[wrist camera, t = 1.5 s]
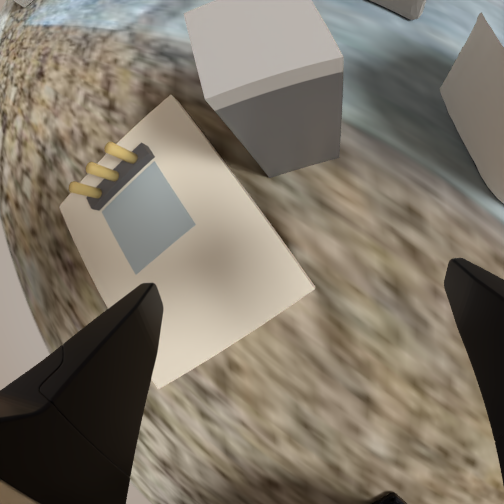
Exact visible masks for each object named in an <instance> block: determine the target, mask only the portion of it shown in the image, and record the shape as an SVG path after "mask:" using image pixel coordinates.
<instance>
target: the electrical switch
mask: <svg viewBox="0 0 504 504" xmlns="http://www.w3.org/2000/svg"><path fill="white" fill-rule="evenodd" d="M370 1H372V2H374V3H377V4H379V5H381V6H383V7H385V8H388V9H390V10H392V11H394V12H396V13H398V14H400V15H402V16H404V17H406V18H408V19H410V20H415V19H418V18H419V17H420V16H421V15H422V13H423V10H424V6H425V3H426V0H370Z"/></svg>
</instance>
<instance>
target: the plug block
mask: <svg viewBox="0 0 504 504" xmlns="http://www.w3.org/2000/svg"><path fill="white" fill-rule="evenodd" d="M184 17H185V21H186V25H187V29H188V33H189V37H190V41H191V45H192V49H193V54H194V58H195V62H196V66H197V70H198V74H199V78H200V82H201V86H202V90H203V94H204V98H205V100H206V101H207V103H208V104H209V105H210V106H211V107H212V108H213V110H214V111H215V112H216V113H217V114H218V115H219V117H220V118H221V119H222V120H223V121H224V123H225V124H226V125H227V126H228V127H229V129H230V130H231V131H232V132H233V133H234V135H235V136H236V137H237V138H238V139H239V141H240V142H241V143H242V144H243V145H244V147H245V148H246V149H247V150H248V152H249V153H250V154H251V155H252V157H253V158H254V159H255V160H256V161H257V163H258V164H259V165H260V166H261V168H262V169H263V170H264V172H265V173H266V174H267V175H268V177H269V178H271V177H274V176H277V175H280V174H284V173H287V172H290V171H294V170H297V169H300V168H304V167H307V166H311V165H314V164H318V163H321V162H325V161H328V160H332V159H335V158H339V152H340V137H341V119H342V97H343V55H342V53H341V51H340V49H339V47H338V45H337V44H336V42H335V40H334V38H333V36H332V34H331V33H330V31H329V29H328V27H327V26H326V24H325V22H324V20H323V19H322V17H321V15H320V14H319V12H318V10H317V9H316V7H315V5H314V4H313V2H312V1H311V0H216V1H213V2H210V3H208V4H205V5H203V6H200V7H198V8H195V9H193V10H190V11H188V12H186V13H184Z"/></svg>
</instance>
